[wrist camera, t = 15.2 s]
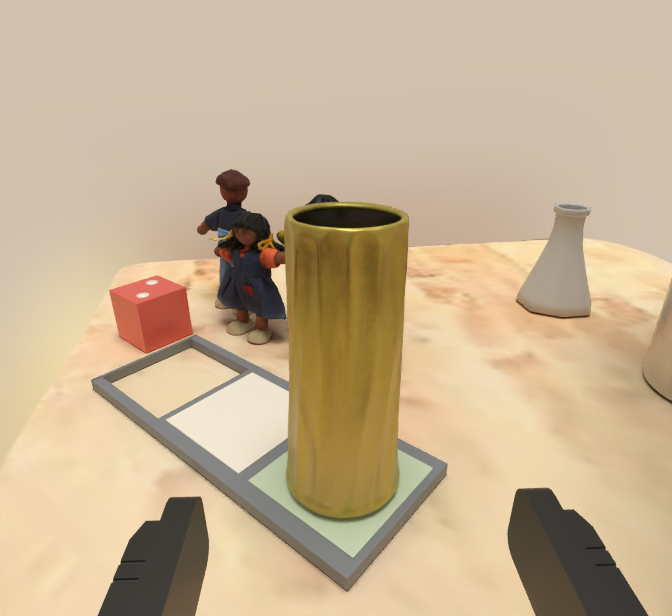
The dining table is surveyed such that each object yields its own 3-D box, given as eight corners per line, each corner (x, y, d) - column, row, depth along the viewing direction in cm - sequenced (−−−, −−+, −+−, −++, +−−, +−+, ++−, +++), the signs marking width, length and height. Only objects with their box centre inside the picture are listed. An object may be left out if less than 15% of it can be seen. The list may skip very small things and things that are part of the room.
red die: (164, 319, 45) (157, 274, 43) (192, 333, 43) (185, 286, 41) (119, 336, 42) (109, 289, 40) (146, 353, 40) (136, 303, 38)
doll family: (155, 323, 45) (128, 179, 39) (215, 289, 52) (199, 163, 46) (389, 379, 36) (398, 203, 30) (420, 328, 43) (432, 180, 38)
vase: (267, 504, 24) (249, 224, 18) (308, 429, 29) (304, 196, 23) (387, 534, 22) (408, 238, 16) (407, 449, 28) (428, 204, 22)
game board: (197, 342, 41) (195, 333, 41) (446, 474, 27) (447, 462, 27) (93, 389, 35) (90, 378, 34) (347, 591, 21) (347, 577, 20)
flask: (521, 317, 46) (540, 214, 41) (509, 288, 52) (524, 196, 48) (602, 322, 44) (630, 217, 40) (579, 292, 51) (601, 198, 47)
